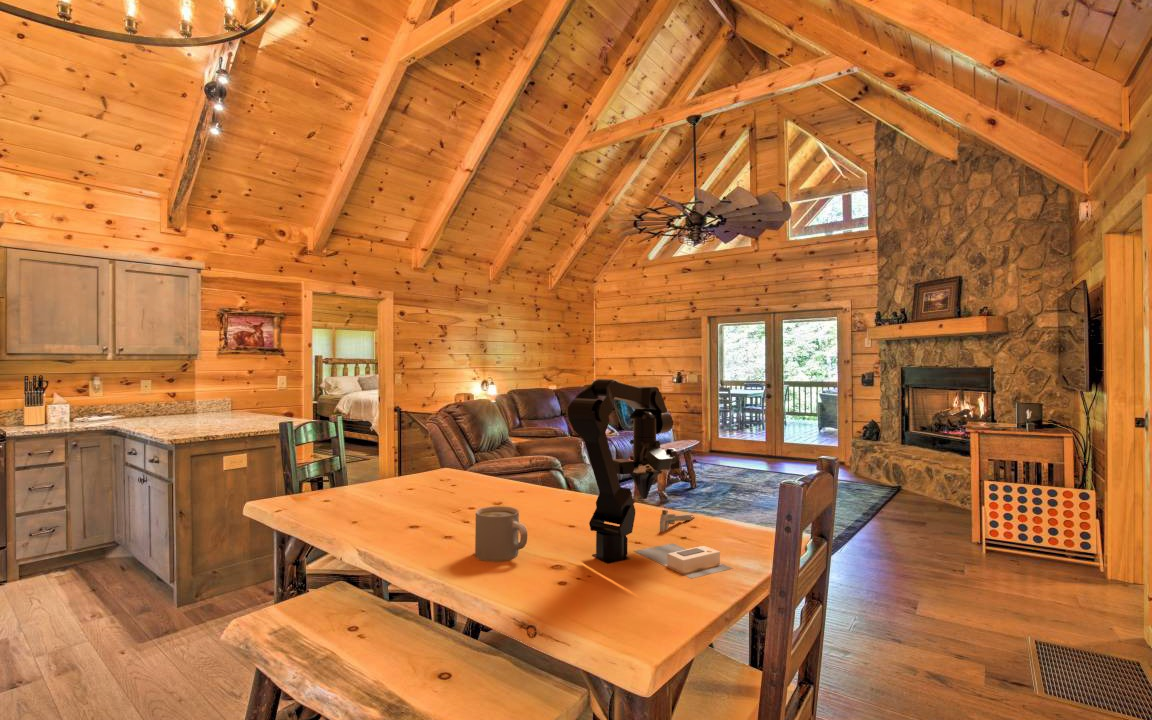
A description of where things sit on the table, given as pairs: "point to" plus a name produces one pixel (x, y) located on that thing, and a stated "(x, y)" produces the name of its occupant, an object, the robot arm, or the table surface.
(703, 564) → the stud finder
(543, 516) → the table surface
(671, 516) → the caliper
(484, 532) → the coffee mug
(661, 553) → the subfloor panel
